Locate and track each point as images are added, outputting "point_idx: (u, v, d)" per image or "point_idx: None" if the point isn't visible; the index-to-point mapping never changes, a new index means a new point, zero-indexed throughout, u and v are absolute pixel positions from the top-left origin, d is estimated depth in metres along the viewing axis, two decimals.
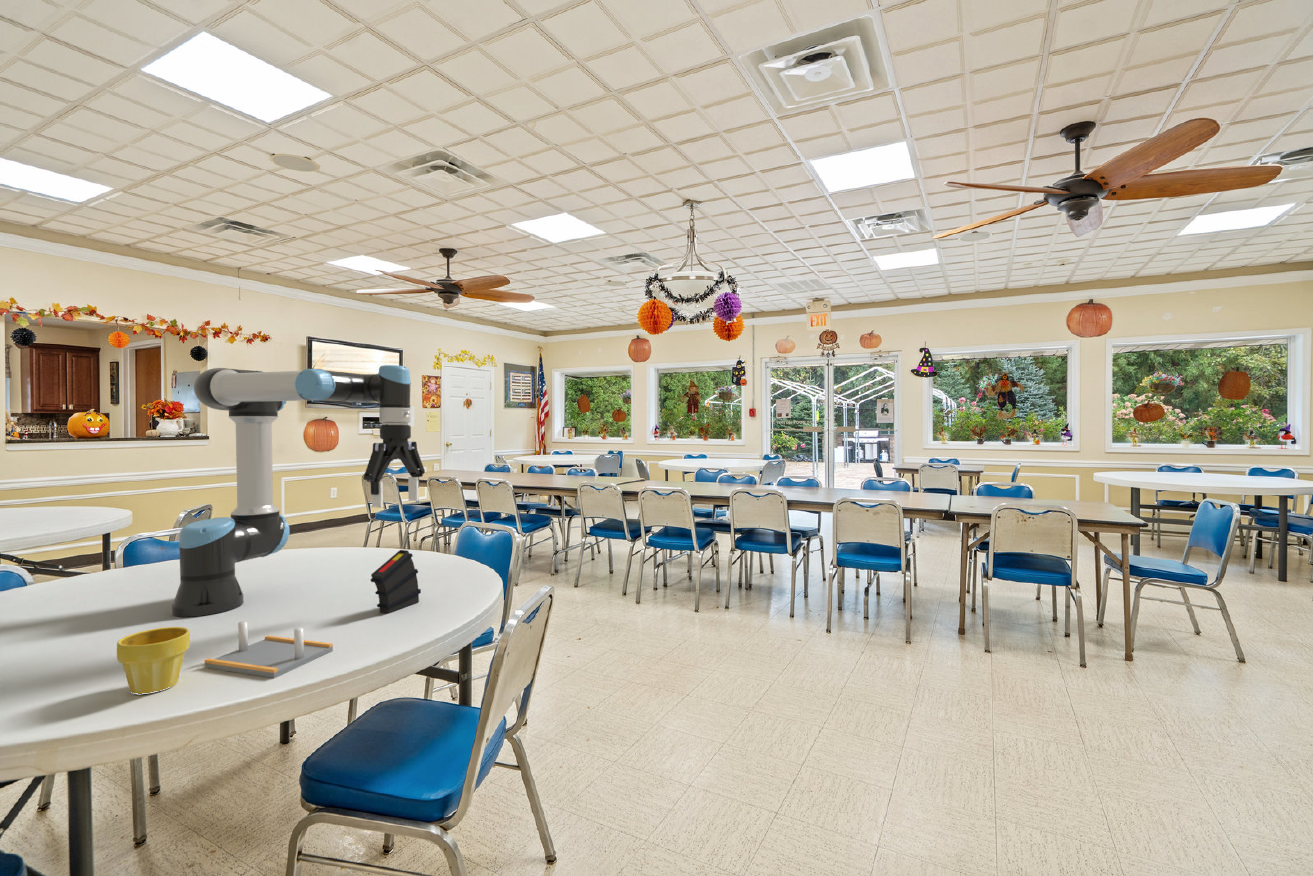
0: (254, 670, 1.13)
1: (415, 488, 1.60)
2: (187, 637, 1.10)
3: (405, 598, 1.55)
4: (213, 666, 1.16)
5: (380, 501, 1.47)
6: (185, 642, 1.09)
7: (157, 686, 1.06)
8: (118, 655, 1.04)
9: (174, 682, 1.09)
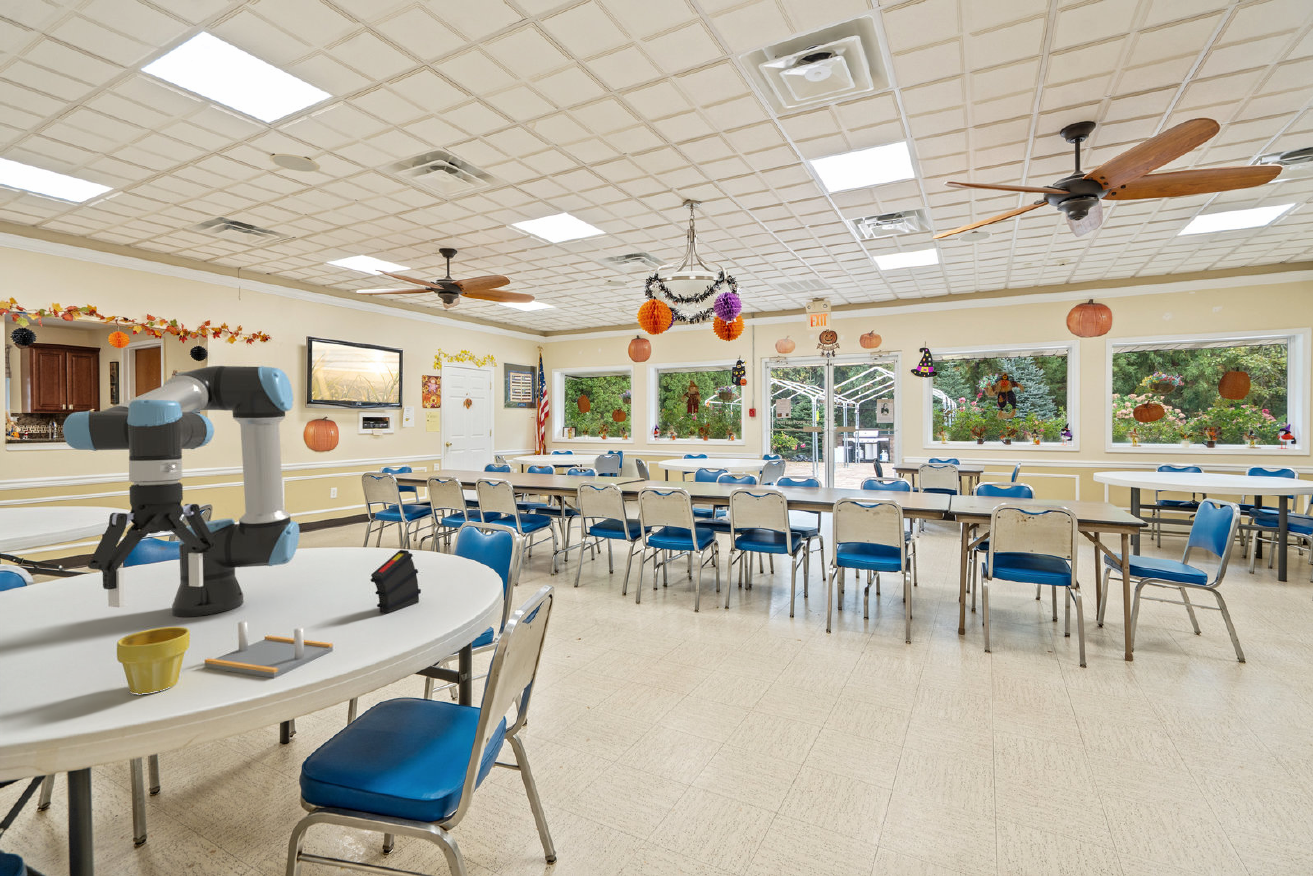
0: (254, 670, 1.13)
1: (197, 569, 1.14)
2: (187, 637, 1.10)
3: (405, 598, 1.55)
4: (213, 666, 1.16)
5: (118, 599, 1.01)
6: (185, 642, 1.09)
7: (157, 686, 1.06)
8: (118, 655, 1.04)
9: (174, 682, 1.09)
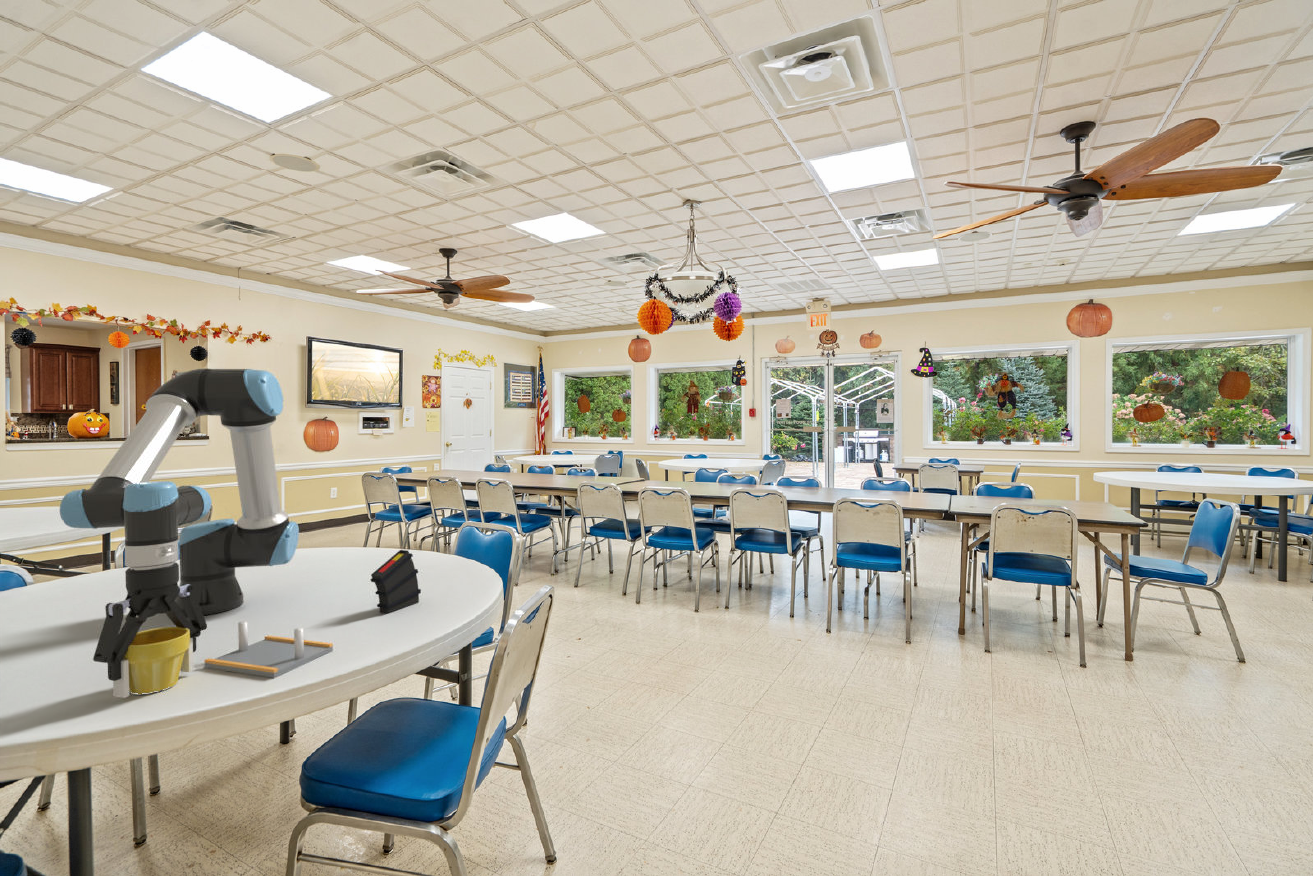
0: (254, 670, 1.13)
1: (187, 654, 1.13)
2: (187, 637, 1.10)
3: (405, 598, 1.55)
4: (213, 666, 1.16)
5: (123, 689, 1.02)
6: (185, 642, 1.09)
7: (157, 686, 1.06)
8: None
9: (174, 682, 1.09)
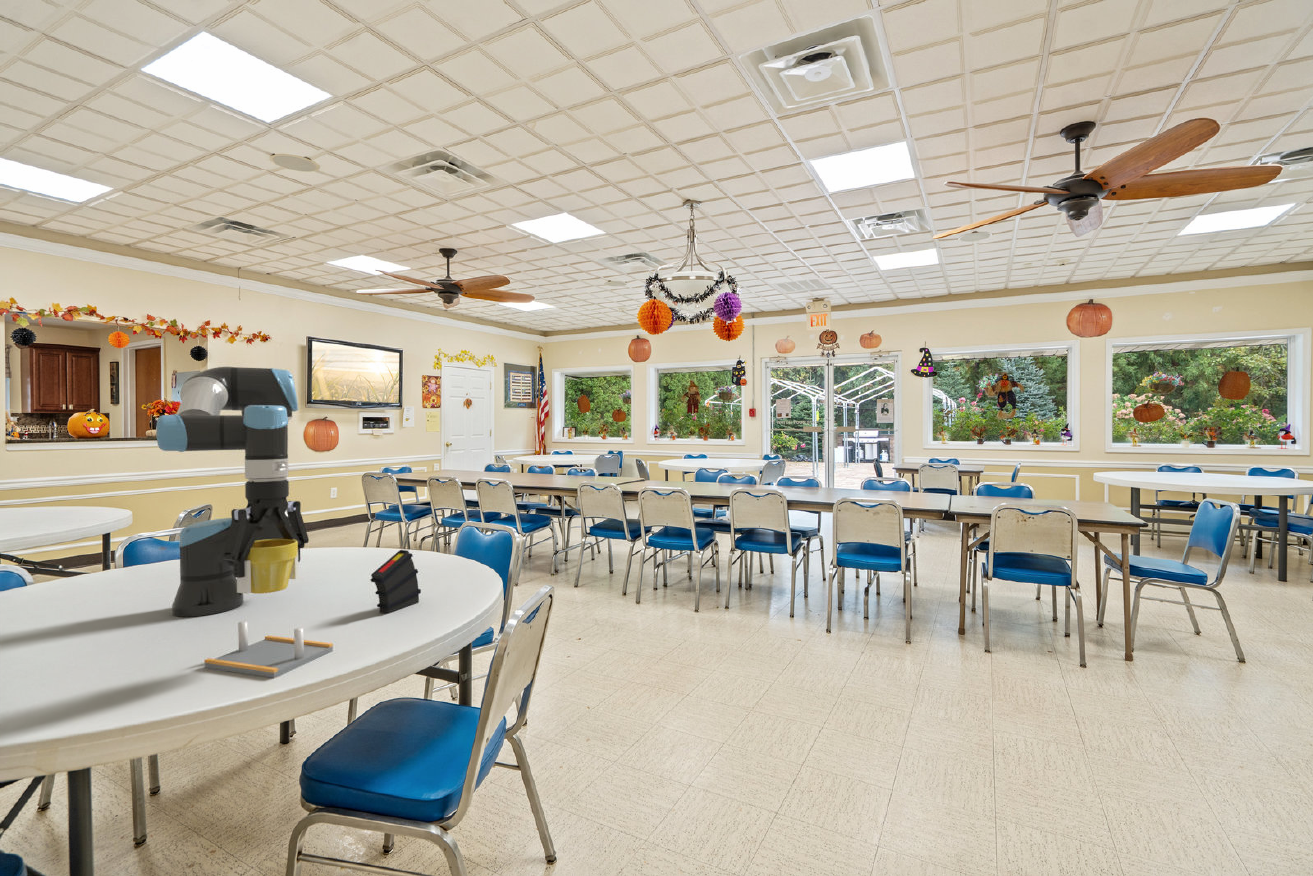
0: (254, 670, 1.13)
1: (293, 563, 1.25)
2: (296, 545, 1.22)
3: (405, 598, 1.55)
4: (213, 666, 1.16)
5: (246, 586, 1.15)
6: (295, 549, 1.21)
7: (273, 586, 1.18)
8: None
9: (286, 585, 1.21)
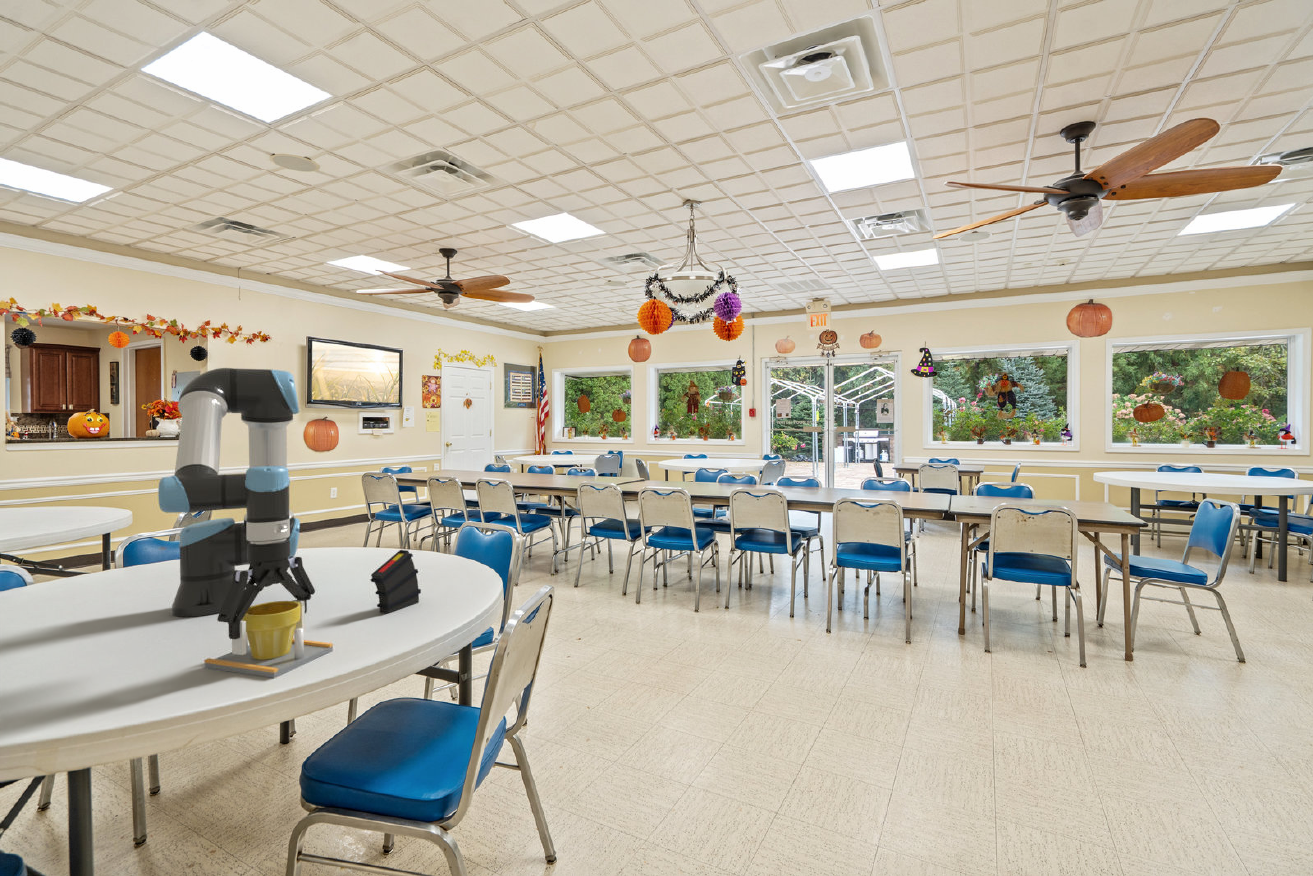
0: (254, 670, 1.13)
1: (300, 615, 1.27)
2: (299, 609, 1.23)
3: (405, 598, 1.55)
4: (213, 666, 1.16)
5: (241, 647, 1.14)
6: (298, 613, 1.22)
7: (276, 652, 1.19)
8: None
9: (289, 649, 1.22)
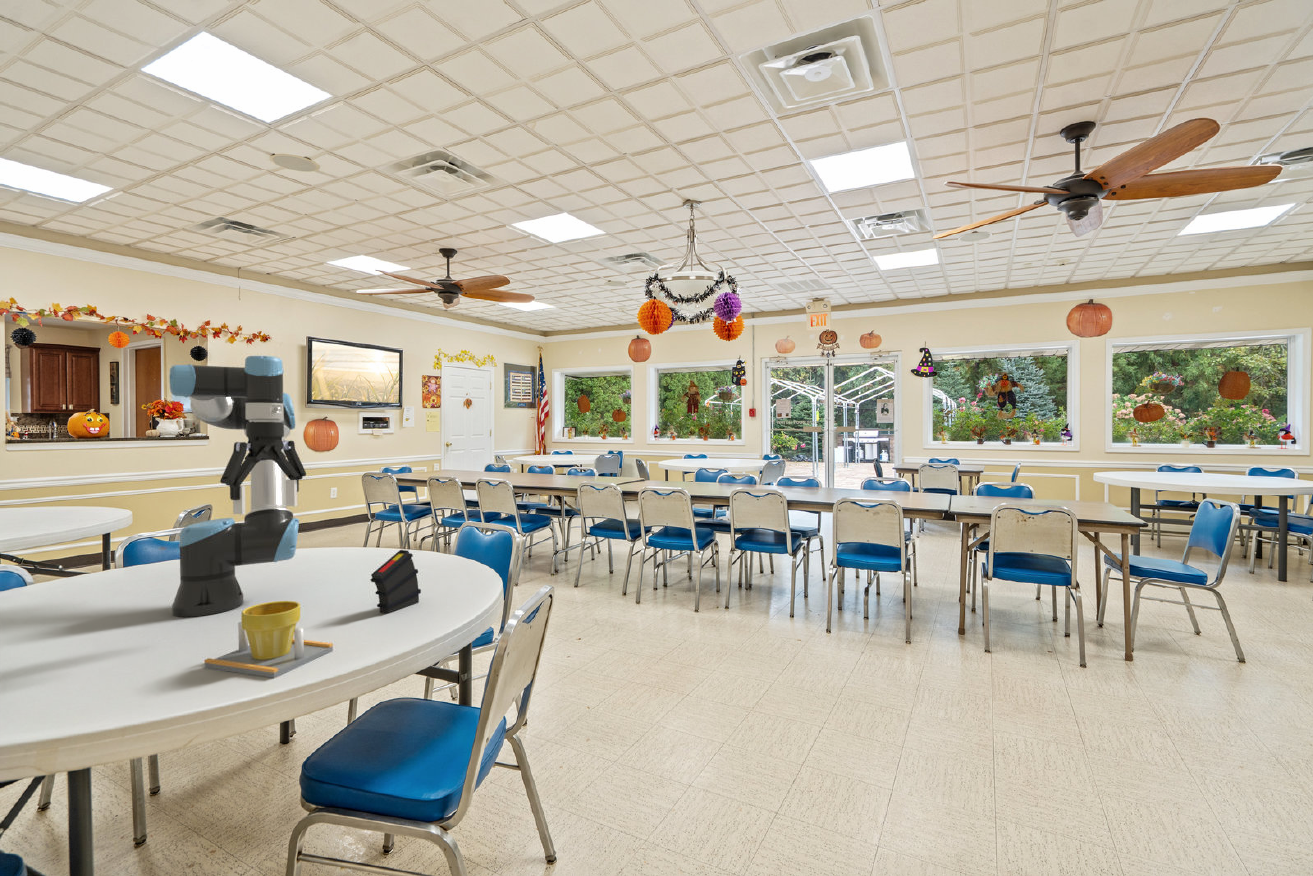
0: (254, 670, 1.13)
1: (293, 492, 1.44)
2: (299, 609, 1.23)
3: (405, 598, 1.55)
4: (213, 666, 1.16)
5: (241, 507, 1.31)
6: (298, 613, 1.22)
7: (276, 652, 1.19)
8: (244, 624, 1.17)
9: (289, 649, 1.22)
